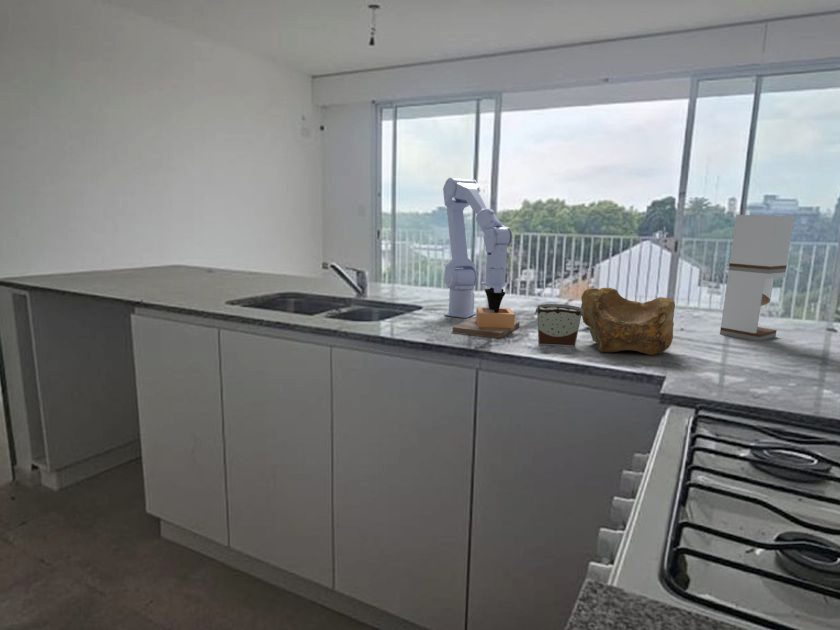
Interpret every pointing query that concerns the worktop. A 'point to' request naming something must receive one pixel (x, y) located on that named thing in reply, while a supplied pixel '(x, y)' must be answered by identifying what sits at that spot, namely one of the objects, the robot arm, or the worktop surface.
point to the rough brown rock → (628, 322)
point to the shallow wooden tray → (495, 318)
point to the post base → (482, 328)
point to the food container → (558, 324)
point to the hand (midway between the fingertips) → (493, 313)
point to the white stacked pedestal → (754, 272)
